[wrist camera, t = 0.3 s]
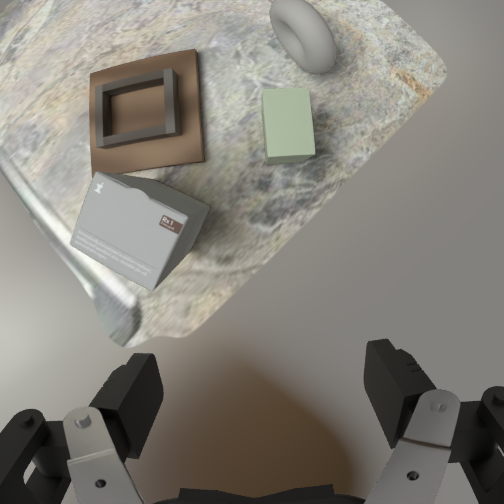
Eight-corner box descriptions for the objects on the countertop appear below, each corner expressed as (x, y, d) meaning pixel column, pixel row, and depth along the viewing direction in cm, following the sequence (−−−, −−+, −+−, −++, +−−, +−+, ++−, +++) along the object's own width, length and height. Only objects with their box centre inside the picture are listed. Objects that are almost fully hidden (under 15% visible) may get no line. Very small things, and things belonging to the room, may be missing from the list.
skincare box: (132, 224, 38) (60, 250, 22) (156, 171, 36) (90, 165, 21) (192, 256, 38) (148, 303, 23) (218, 202, 37) (188, 215, 21)
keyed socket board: (95, 76, 34) (80, 68, 30) (197, 53, 33) (190, 40, 29) (97, 178, 36) (82, 178, 32) (204, 161, 36) (197, 159, 32)
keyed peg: (261, 114, 35) (261, 89, 25) (296, 112, 34) (308, 87, 25) (266, 164, 36) (267, 157, 26) (301, 162, 36) (315, 154, 26)
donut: (262, 28, 32) (263, -14, 22) (286, 18, 32) (292, -26, 22) (308, 90, 34) (324, 59, 24) (332, 78, 33) (354, 46, 23)
